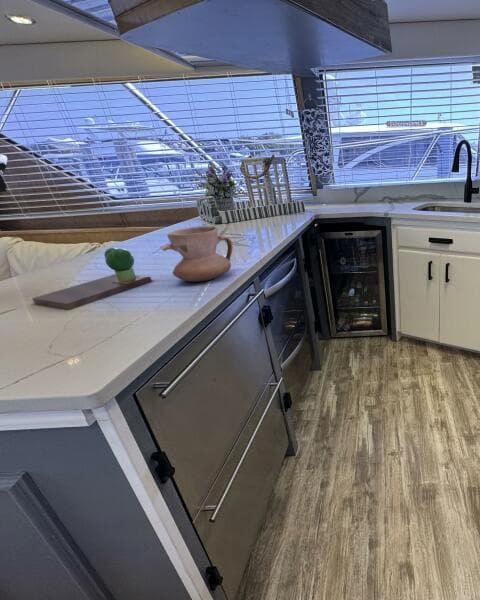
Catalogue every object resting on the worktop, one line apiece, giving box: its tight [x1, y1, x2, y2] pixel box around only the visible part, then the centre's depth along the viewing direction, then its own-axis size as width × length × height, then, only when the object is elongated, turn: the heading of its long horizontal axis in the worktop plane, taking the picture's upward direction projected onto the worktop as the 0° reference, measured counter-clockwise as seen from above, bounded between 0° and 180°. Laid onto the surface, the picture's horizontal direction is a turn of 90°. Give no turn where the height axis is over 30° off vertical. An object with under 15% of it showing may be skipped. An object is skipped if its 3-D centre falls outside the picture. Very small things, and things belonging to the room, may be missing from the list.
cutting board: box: [31, 273, 153, 310], centre depth 87 cm, size 20×14×2 cm
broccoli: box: [104, 247, 136, 282], centre depth 89 cm, size 6×7×9 cm
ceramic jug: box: [160, 225, 234, 283], centre depth 93 cm, size 18×14×14 cm
